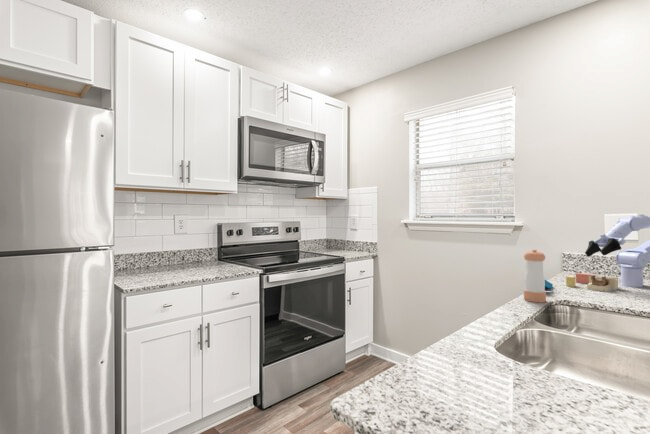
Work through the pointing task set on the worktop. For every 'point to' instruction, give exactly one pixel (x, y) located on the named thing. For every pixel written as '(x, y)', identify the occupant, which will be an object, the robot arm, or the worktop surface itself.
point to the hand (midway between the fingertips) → (594, 254)
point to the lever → (548, 284)
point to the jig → (608, 288)
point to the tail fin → (570, 281)
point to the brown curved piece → (600, 281)
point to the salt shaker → (534, 277)
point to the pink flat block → (582, 278)
